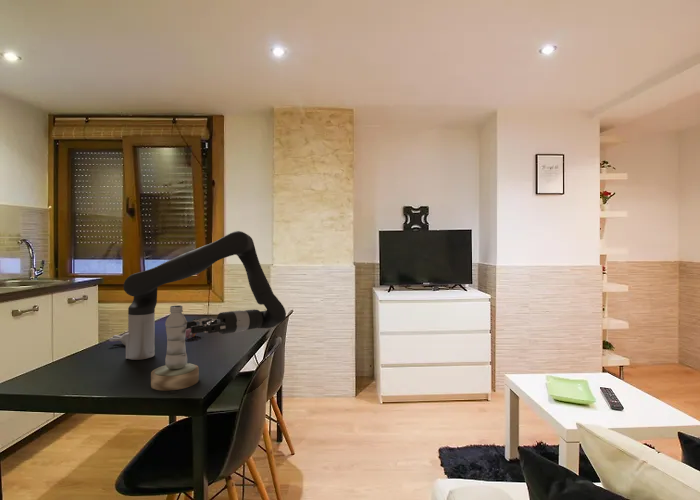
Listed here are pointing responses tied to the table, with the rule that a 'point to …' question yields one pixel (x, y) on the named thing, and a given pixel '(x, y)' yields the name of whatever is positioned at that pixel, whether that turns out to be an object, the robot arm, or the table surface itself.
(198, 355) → the table surface
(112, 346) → the table surface
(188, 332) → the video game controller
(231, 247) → the robot arm
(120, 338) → the bunny figurine
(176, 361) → the plastic bottle
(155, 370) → the wooden stand
